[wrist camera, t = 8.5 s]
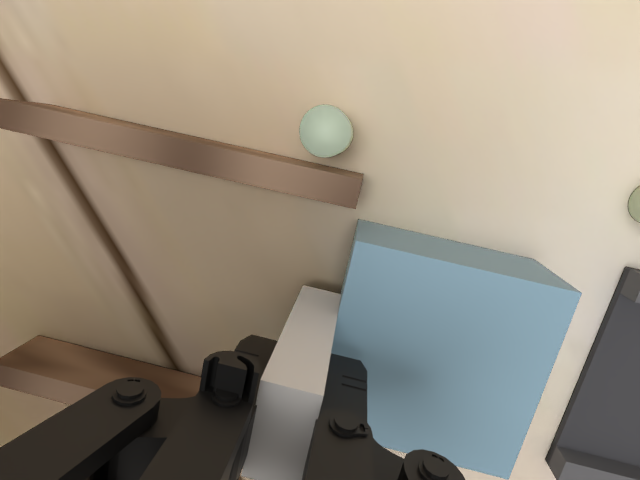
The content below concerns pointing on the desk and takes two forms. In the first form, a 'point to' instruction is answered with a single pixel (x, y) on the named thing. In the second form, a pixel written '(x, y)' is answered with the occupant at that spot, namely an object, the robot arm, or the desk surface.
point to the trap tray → (605, 399)
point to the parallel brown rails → (169, 150)
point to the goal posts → (337, 133)
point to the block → (450, 342)
